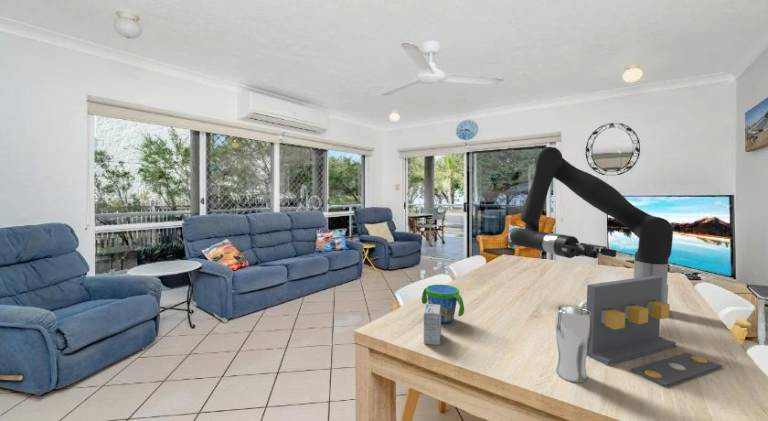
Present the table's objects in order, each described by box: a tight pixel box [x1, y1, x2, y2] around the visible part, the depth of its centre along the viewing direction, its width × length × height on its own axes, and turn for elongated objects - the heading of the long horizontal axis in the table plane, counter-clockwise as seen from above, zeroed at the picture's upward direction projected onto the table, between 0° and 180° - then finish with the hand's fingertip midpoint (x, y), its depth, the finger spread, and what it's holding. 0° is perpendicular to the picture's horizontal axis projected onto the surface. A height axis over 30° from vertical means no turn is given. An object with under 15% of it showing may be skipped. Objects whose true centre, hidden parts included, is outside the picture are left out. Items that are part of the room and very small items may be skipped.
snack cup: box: [421, 284, 465, 324], centre depth 107 cm, size 16×10×10 cm
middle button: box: [624, 305, 648, 324], centre depth 89 cm, size 4×10×4 cm, turn 22°
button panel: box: [586, 276, 677, 367], centre depth 89 cm, size 27×10×18 cm, turn 112°
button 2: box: [646, 301, 671, 320], centre depth 92 cm, size 4×10×4 cm, turn 22°
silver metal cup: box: [555, 304, 592, 384], centre depth 75 cm, size 7×7×15 cm
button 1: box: [577, 300, 625, 330], centre depth 86 cm, size 4×10×4 cm, turn 22°
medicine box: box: [423, 303, 442, 346], centre depth 93 cm, size 8×4×9 cm, turn 168°
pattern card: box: [630, 351, 723, 388], centre depth 78 cm, size 22×7×1 cm, turn 112°
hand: (606, 254), depth 102 cm, fingers open, 8 cm apart
